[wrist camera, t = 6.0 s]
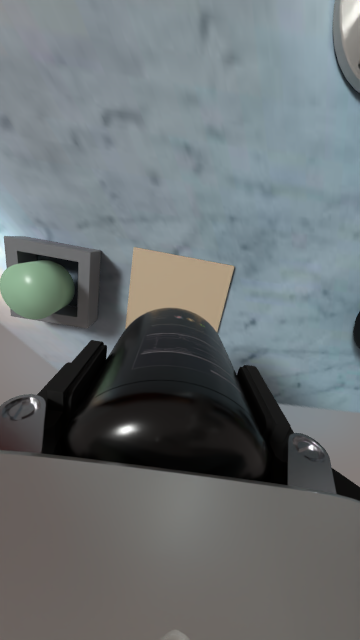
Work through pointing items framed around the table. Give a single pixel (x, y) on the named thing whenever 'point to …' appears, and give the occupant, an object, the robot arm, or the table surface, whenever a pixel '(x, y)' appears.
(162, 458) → the supplement bottle
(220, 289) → the beige square board
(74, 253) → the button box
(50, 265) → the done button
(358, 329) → the end cap
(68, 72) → the table surface
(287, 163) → the table surface
